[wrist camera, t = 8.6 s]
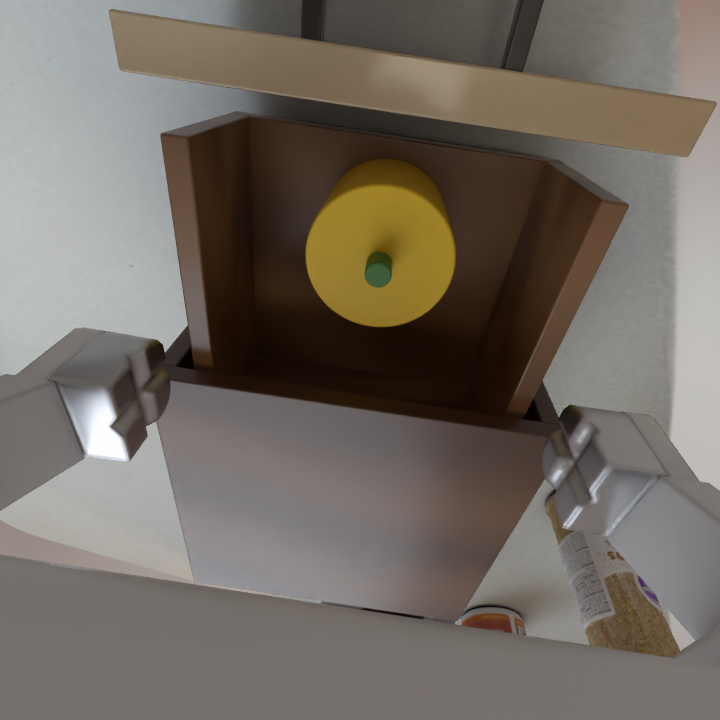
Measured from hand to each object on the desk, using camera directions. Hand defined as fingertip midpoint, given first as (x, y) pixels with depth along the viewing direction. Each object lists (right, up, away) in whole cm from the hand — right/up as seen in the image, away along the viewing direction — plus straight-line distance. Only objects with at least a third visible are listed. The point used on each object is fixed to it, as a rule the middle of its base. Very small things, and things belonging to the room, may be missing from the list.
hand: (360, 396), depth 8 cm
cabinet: (0, -2, +18) cm, 18 cm away
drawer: (+1, +8, +10) cm, 12 cm away
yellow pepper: (+1, +6, +9) cm, 11 cm away
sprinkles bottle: (+16, -9, +22) cm, 29 cm away
